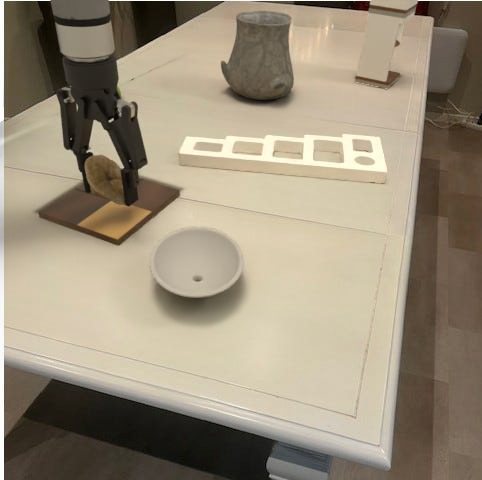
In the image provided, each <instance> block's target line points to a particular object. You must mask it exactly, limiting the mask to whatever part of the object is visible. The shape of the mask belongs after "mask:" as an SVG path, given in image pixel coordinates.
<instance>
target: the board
mask: <svg viewBox="0 0 482 480" xmlns="http://www.w3.org/2000/svg"><path fill="white" fill-rule="evenodd" d="M137 192H138V200H137V201H136V202H134V203H133V204H132V205H130V206H126V205H119V204H116V203H114V202H113V201H111V200H107V199H103V198H101V197H100V196H98V195H95V194H93V193H92V192H91V193H86V192H85V187H84V182H82V183H81V184H79V185H77V186H76V187H74V188H73V189H72V190H70V191H68V192H67V193H65V194H64V195H62V196H60V197H59V198H57V199H56V200H54V201H53V202H51V203H50V204H48V205H46V206H45V207H43V208H41V209H40V210H39V211H37V213H38V217H39V218H41V219H44V220H46V221H49V222H52V223H55V224H57V225H60V226H63V227H65V228H69V229H71V230H74V231H77V232H80V233H83V234H86V235H88V236H91V237H94V238H97V239H99V240H102V241H105V242H108V243H111V244H113V245H116V246H120V245H121V244H122V243H123V242H125V241H126V240H127V239H129V238H130V237H131V236H133V234H135V233H136V232H137V231H138V230H139V229H141V228H142V227H143V226H144V225H145V224H147V223H148V222H149V221H150V220H151V219H153V218H154V217H155V216H156V215H158V214H159V213H160V212H161V211H162V210H164V209H165V208H166V207H167V206H169V205H170V204H171V203H173V201H174V200H176V199H177V198H178V197H180V196H181V190H180V189H178V188H175V187H172V186H169V185H165V184H162V183H159V182H155V181H151V180H149V179H145V178H141V177H139V185H138V186H137Z"/></svg>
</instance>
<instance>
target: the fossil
mask: <svg viewBox="0 0 482 480" xmlns="http://www.w3.org/2000/svg"><path fill="white" fill-rule="evenodd" d="M121 169H122V167H120V166H119V165H118V163H117V162H116V161H115V160H113V159H110V158H109V157H107V156H106V155H104V154H96V155H94V154H93V156H90V157H89V158H87V159H86V161H85V173H86V178H87V181H88V183H89V184H90V189H91V192H92V193H93V194H95V195H98V196H100V197H101V198H103V199H107V200H111V201H113V202H114V203H116V204H119V205H125V199H124V192H123V185H122V178H121V171H120V170H121Z"/></svg>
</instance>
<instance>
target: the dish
mask: <svg viewBox="0 0 482 480" xmlns="http://www.w3.org/2000/svg"><path fill="white" fill-rule="evenodd" d="M148 260H149V263H148V264H149V270H150V273H151V275H152V276H153V278H154V280H155V282H156V283H157V284H158V285H159V286H161V288H163V289H164V290H166V291H167V292H169V293H171V294H174V295H177V296H180V297H184V298H193V299H197V298H198V299H199V298H200V299H201V298H209V297H213V296H216V295H219V294H221V293H223V292H225V291H228V289H230V288H231V287H232V286H233V285H234V284H236V282H237V281H238V280H239V279H240V277H241V275H242V273H243V270H244V265H245V257H244V254H243V250H242V248H241V246H240V245H239V243H238V242H237V241H236V240H235V239H234V238H233V237H232V236H230V235H229V234H228V233H226V232H225V231H224V232H223V231H222V230H220V229H217V228H213V227H209V226H203V225H202V226H201V225H193V226H186V227H180V228H178V229H175V230H172V231H170V232H168V233H167V234H165V235H163V236H162V237H161V238H160V239H159V240H158V241H157V242H156V243H155V245H154V246H153V248H152V250H151V252H150V255H149V259H148Z"/></svg>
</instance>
